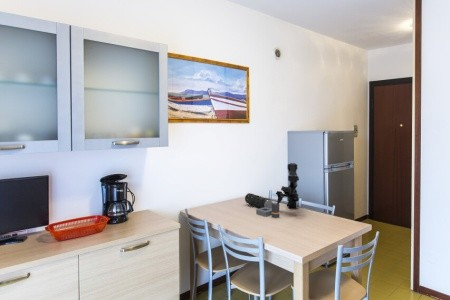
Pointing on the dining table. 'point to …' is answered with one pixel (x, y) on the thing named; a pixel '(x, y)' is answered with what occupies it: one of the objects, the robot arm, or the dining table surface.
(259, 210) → the socket block
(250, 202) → the black cylindrical piece
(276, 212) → the plug
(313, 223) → the dining table surface
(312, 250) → the dining table surface
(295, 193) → the robot arm
